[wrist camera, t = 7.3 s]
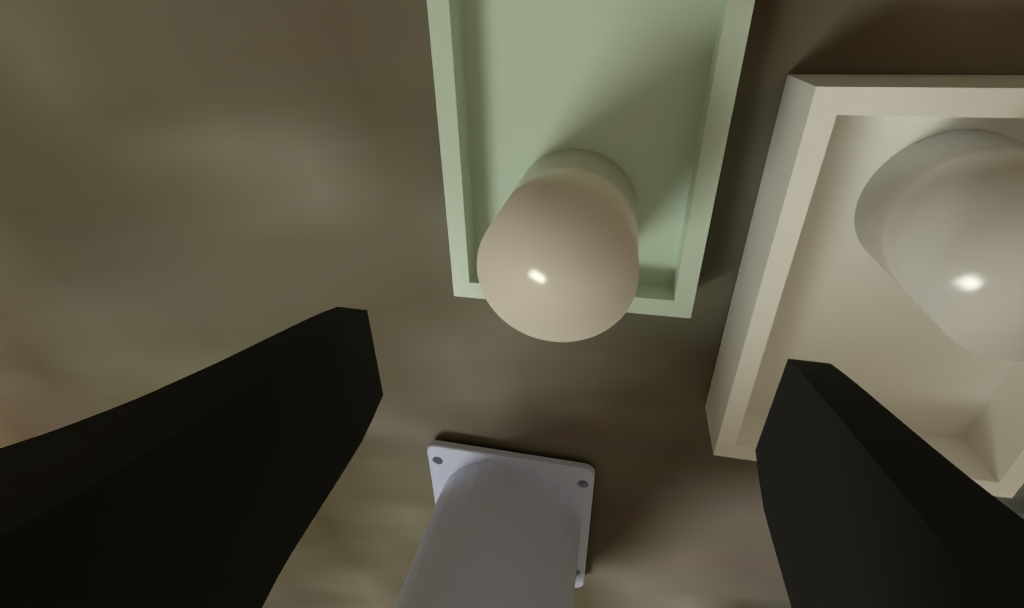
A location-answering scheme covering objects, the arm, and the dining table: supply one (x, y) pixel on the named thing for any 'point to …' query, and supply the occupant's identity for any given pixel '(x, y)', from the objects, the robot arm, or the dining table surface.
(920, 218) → the pebble
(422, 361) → the dining table surface
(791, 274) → the bin
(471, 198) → the tray
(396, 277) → the dining table surface
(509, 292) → the pebble
